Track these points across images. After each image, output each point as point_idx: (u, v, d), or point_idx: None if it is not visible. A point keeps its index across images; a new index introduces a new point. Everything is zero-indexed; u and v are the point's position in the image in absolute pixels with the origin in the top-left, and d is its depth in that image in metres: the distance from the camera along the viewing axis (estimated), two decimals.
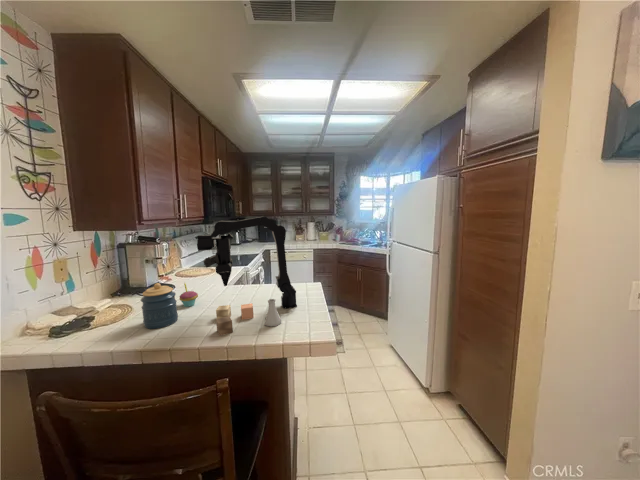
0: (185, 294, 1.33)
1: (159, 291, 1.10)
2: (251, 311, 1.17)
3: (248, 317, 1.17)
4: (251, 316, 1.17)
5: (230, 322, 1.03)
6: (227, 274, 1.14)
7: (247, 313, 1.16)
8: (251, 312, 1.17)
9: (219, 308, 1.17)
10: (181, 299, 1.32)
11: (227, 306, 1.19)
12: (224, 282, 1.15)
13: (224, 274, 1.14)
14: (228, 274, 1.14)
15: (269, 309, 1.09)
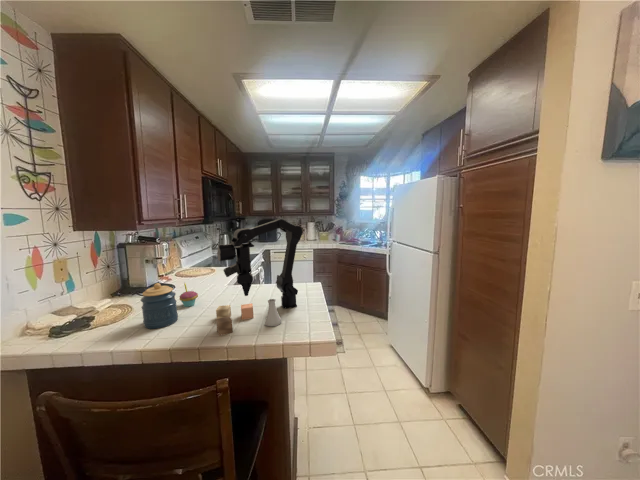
0: (185, 294, 1.33)
1: (159, 291, 1.10)
2: (251, 311, 1.17)
3: (248, 317, 1.17)
4: (251, 316, 1.17)
5: (230, 322, 1.03)
6: (248, 283, 1.11)
7: (247, 313, 1.16)
8: (251, 312, 1.17)
9: (219, 308, 1.17)
10: (181, 299, 1.32)
11: (227, 306, 1.19)
12: (245, 292, 1.12)
13: (245, 284, 1.12)
14: (249, 284, 1.11)
15: (269, 309, 1.09)
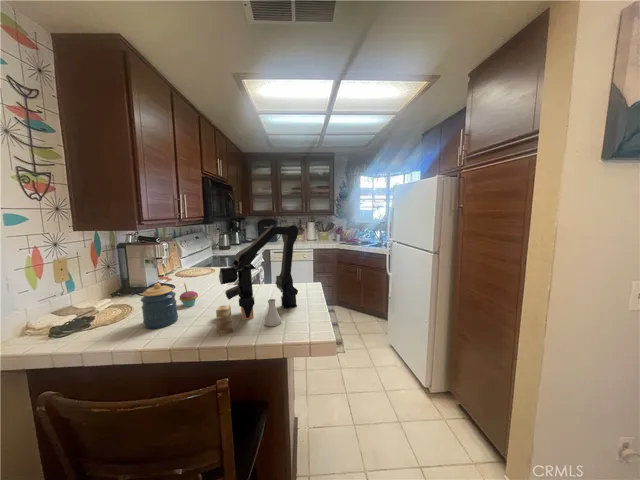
0: (185, 294, 1.33)
1: (159, 291, 1.10)
2: (251, 311, 1.17)
3: None
4: (251, 316, 1.17)
5: (230, 322, 1.03)
6: (250, 306, 1.13)
7: None
8: (251, 312, 1.17)
9: (219, 308, 1.17)
10: (181, 299, 1.32)
11: (227, 306, 1.19)
12: (246, 314, 1.14)
13: (247, 306, 1.13)
14: (250, 306, 1.13)
15: (269, 309, 1.09)
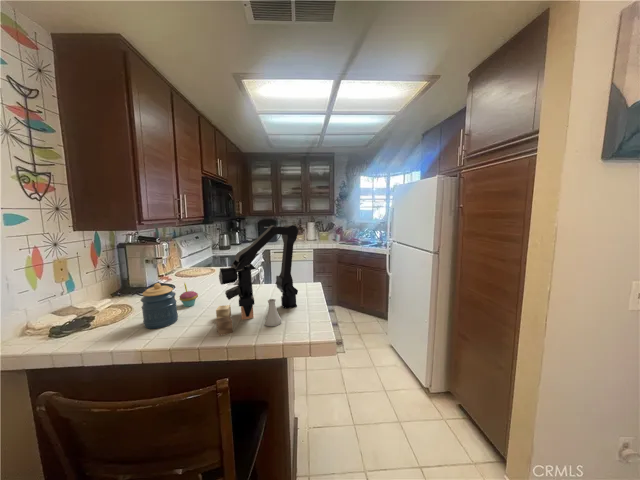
0: (185, 294, 1.33)
1: (159, 291, 1.10)
2: (251, 311, 1.17)
3: (248, 317, 1.17)
4: (251, 316, 1.17)
5: (230, 322, 1.03)
6: (249, 305, 1.14)
7: None
8: (251, 312, 1.17)
9: (219, 308, 1.17)
10: (181, 299, 1.32)
11: (227, 306, 1.19)
12: (246, 313, 1.15)
13: (246, 305, 1.15)
14: (250, 305, 1.14)
15: (269, 309, 1.09)
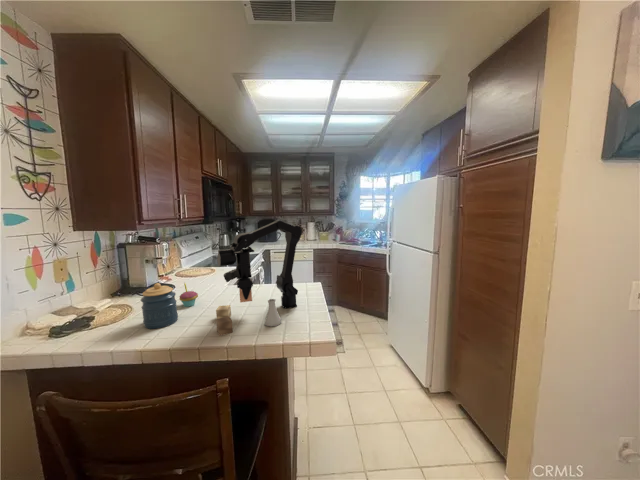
0: (185, 294, 1.33)
1: (159, 291, 1.10)
2: (249, 294, 1.16)
3: (246, 300, 1.16)
4: (249, 299, 1.16)
5: (230, 322, 1.03)
6: (248, 287, 1.13)
7: None
8: (249, 295, 1.16)
9: (219, 308, 1.17)
10: (181, 299, 1.32)
11: (227, 306, 1.19)
12: (245, 296, 1.14)
13: (245, 288, 1.14)
14: (249, 287, 1.13)
15: (269, 309, 1.09)
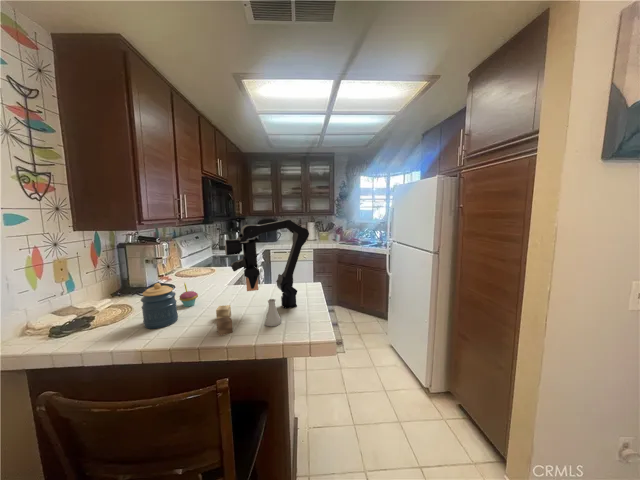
0: (185, 294, 1.33)
1: (159, 291, 1.10)
2: (256, 283, 1.19)
3: (253, 289, 1.19)
4: (256, 288, 1.19)
5: (230, 322, 1.03)
6: (255, 276, 1.17)
7: None
8: (255, 284, 1.19)
9: (219, 308, 1.17)
10: (181, 299, 1.32)
11: (227, 306, 1.19)
12: (251, 285, 1.18)
13: (251, 277, 1.17)
14: (255, 277, 1.17)
15: (269, 309, 1.09)
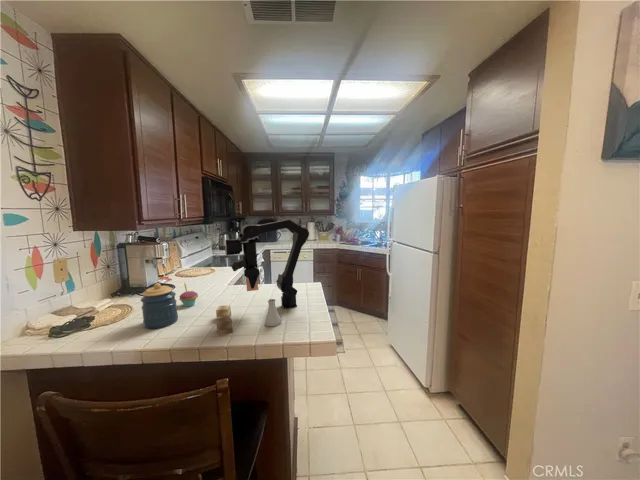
0: (185, 294, 1.33)
1: (159, 291, 1.10)
2: (256, 283, 1.19)
3: (253, 289, 1.19)
4: (256, 288, 1.19)
5: (230, 322, 1.03)
6: (255, 276, 1.17)
7: None
8: (255, 284, 1.19)
9: (219, 308, 1.17)
10: (181, 299, 1.32)
11: (227, 306, 1.19)
12: (251, 285, 1.18)
13: (251, 277, 1.17)
14: (255, 276, 1.17)
15: (269, 309, 1.09)
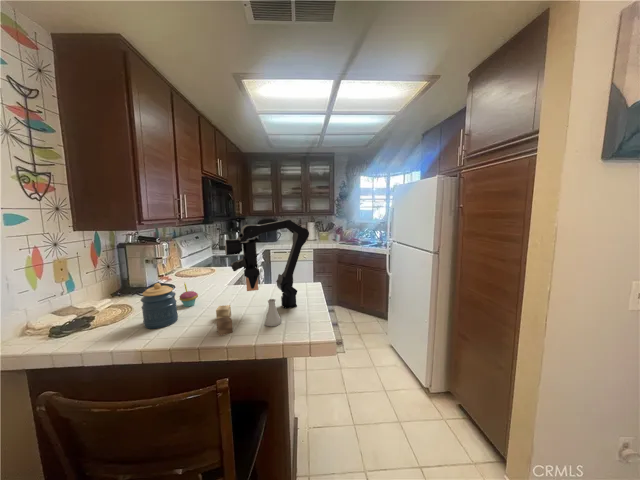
0: (185, 294, 1.33)
1: (159, 291, 1.10)
2: (256, 283, 1.19)
3: (253, 289, 1.19)
4: (256, 288, 1.19)
5: (230, 322, 1.03)
6: (255, 276, 1.17)
7: None
8: (255, 284, 1.19)
9: (219, 308, 1.17)
10: (181, 299, 1.32)
11: (227, 306, 1.19)
12: (251, 285, 1.18)
13: (251, 277, 1.17)
14: (255, 276, 1.17)
15: (269, 309, 1.09)
